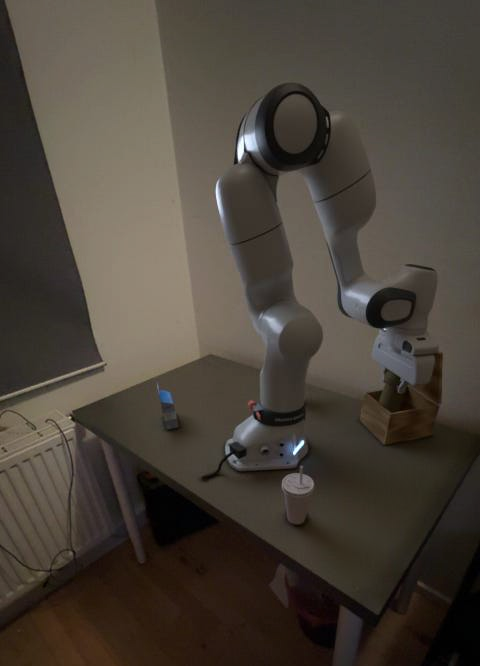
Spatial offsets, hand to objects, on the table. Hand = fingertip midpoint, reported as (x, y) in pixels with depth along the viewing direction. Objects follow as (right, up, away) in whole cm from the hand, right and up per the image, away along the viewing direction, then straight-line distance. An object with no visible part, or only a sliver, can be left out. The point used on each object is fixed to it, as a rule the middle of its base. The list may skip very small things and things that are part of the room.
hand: (393, 387), depth 93 cm
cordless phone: (-63, -9, +17) cm, 66 cm away
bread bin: (+4, -11, +8) cm, 14 cm away
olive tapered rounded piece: (0, -6, +4) cm, 7 cm away
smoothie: (-29, -30, -19) cm, 46 cm away
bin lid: (+7, +4, -1) cm, 9 cm away
